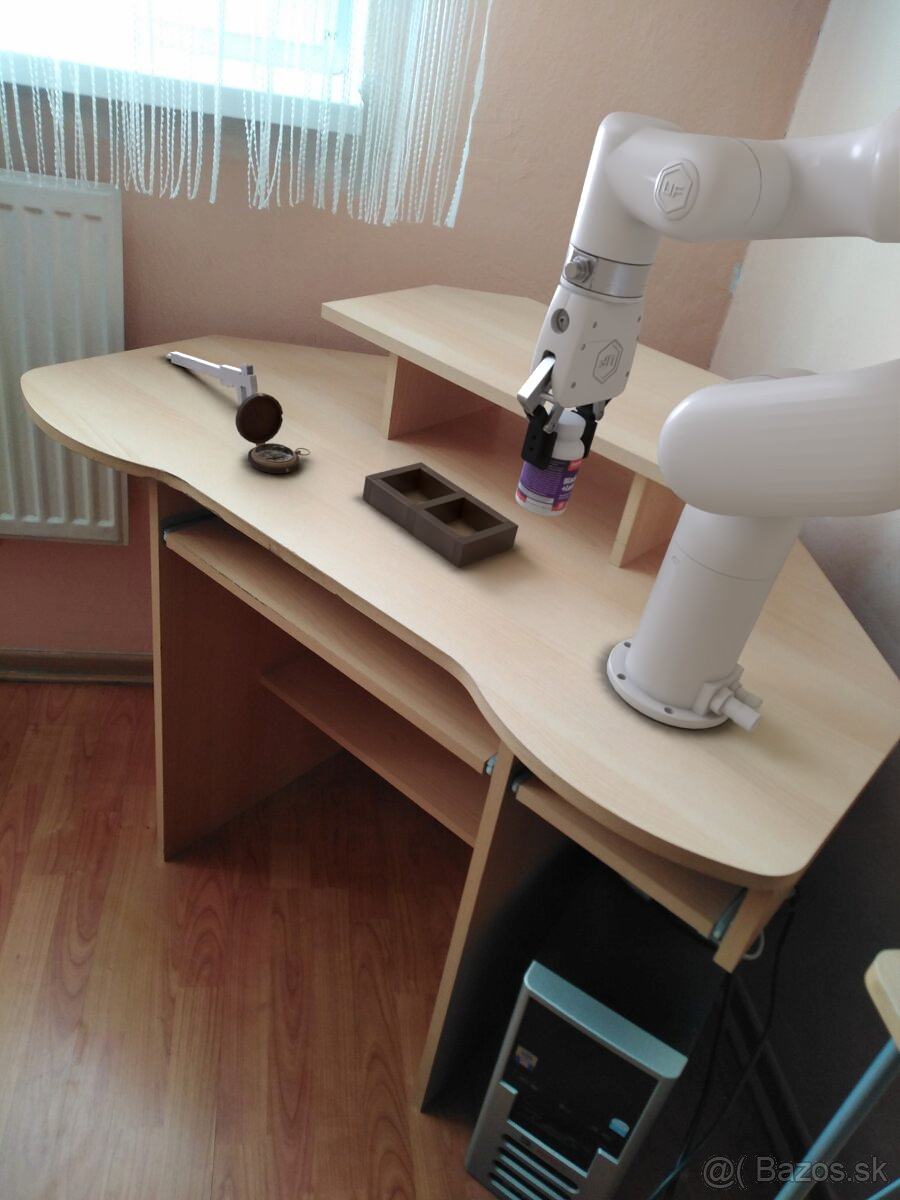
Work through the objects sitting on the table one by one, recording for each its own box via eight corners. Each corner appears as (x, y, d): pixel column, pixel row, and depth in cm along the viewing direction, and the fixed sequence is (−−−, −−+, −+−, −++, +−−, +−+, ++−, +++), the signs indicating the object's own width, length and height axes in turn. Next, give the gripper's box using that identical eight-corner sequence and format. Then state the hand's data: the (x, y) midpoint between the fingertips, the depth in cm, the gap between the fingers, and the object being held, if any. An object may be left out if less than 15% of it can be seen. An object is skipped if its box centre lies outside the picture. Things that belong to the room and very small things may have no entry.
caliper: (256, 413, 118) (260, 368, 115) (250, 415, 118) (252, 369, 114) (171, 357, 129) (172, 314, 125) (165, 358, 128) (165, 315, 124)
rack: (512, 547, 102) (518, 525, 100) (458, 568, 96) (463, 544, 95) (417, 483, 111) (421, 461, 109) (362, 498, 105) (365, 475, 103)
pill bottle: (562, 523, 89) (590, 435, 83) (510, 508, 89) (535, 420, 84) (568, 499, 93) (595, 414, 88) (518, 485, 94) (542, 399, 88)
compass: (264, 479, 104) (269, 421, 100) (231, 449, 109) (234, 393, 105) (322, 468, 109) (328, 413, 105) (288, 440, 114) (293, 386, 110)
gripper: (577, 293, 71) (524, 493, 81) (692, 282, 82) (633, 459, 92) (510, 263, 75) (467, 457, 85) (628, 256, 86) (578, 429, 96)
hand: (554, 456), depth 88 cm, fingers closed on pill bottle, 5 cm apart
